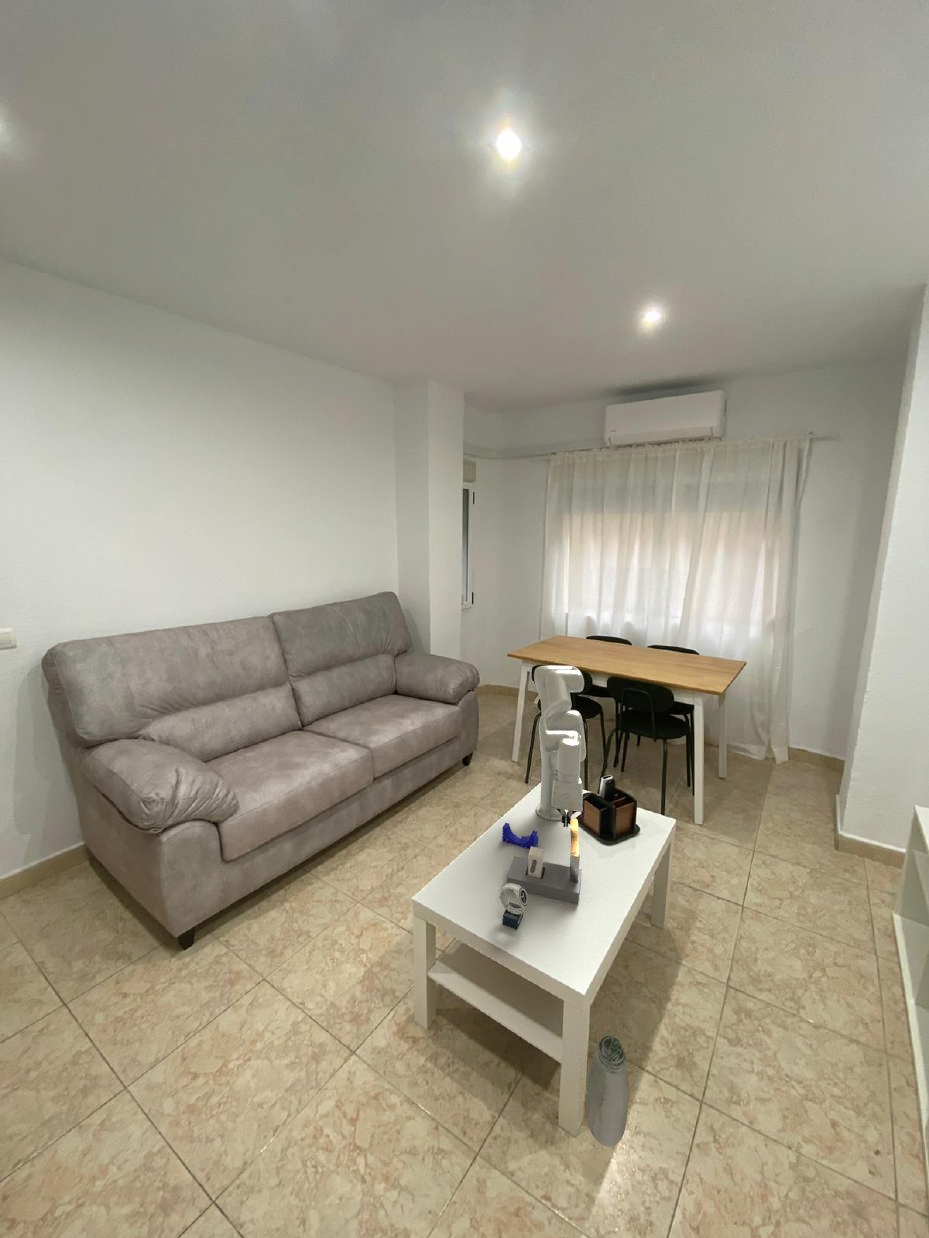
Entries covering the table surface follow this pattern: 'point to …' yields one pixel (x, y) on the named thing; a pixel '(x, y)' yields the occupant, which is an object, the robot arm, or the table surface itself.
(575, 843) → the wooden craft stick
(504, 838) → the blue cradle stand
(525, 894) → the watch
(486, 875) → the table surface
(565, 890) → the socket block
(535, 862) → the white upright block
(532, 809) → the table surface
